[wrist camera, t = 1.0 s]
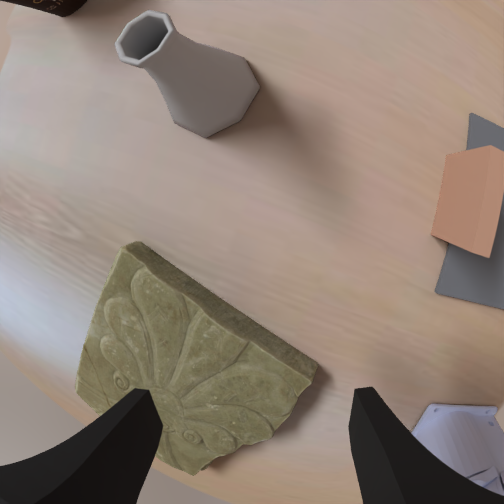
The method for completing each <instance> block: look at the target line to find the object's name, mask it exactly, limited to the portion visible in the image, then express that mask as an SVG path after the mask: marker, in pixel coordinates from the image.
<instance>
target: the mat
mask: <svg viewBox="0 0 504 504" xmlns="http://www.w3.org/2000/svg"><path fill="white" fill-rule="evenodd" d="M488 145H492V146H494V147H496V148H498V149H500V150H502V151H504V128H502V127H500V126H498V125H496V124H494V123H492V122H490V121H488V120H486V119H484V118H482V117H480V116H478V115H476V114H473V113H470V116H469V130H468V140H467V150H471V149H475V148H479V147H484V146H488ZM435 292H436V293H438V294H442V295H446V296H450V297H455V298H459V299H463V300H467V301H471V302H475V303H480V304H484V305H488V306H492V307H496V308H500V309H504V193H503V199H502V205H501V210H500V215H499V220H498V225H497V229H496V234H495V238H494V242H493V246H492V250H491V254H490V257H489V258H487V257H484V256H481V255H478V254H475V253H472V252H469V251H467V250H465V249H463V248H460V247H458V246H456V245H454V244H451V243H449V244H448V248H447V252H446V256H445V259H444V263H443V266H442V269H441V273H440V276H439V279H438V282H437V285H436V288H435Z"/></svg>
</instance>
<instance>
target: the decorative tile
mask: <svg viewBox="0 0 504 504" xmlns="http://www.w3.org/2000/svg"><path fill="white" fill-rule="evenodd" d="M317 367H318V363H317V362H316V361H314V360H313V359H311V358H309V357H308V356H306V355H305V354H303V353H302V352H300V351H299V350H297V349H296V348H294V347H293V346H291V345H290V344H288V343H286V342H285V341H283V340H282V339H280V338H279V337H277V336H276V335H274V334H273V333H271V332H270V331H268V330H267V329H265V328H264V327H262V326H261V325H259V324H258V323H256V322H255V321H254V320H252V319H251V318H249V317H248V316H246V315H245V314H243V313H242V312H240V311H239V310H237V309H236V308H234V307H233V306H231V305H230V304H228V303H227V302H225V301H224V300H222V299H221V298H219V297H218V296H216V295H215V294H213V293H212V292H211V291H209V290H208V289H206V288H205V287H203V286H202V285H201V284H199V283H198V282H196V281H195V280H194V279H192V278H191V277H189V276H188V275H187V274H185V273H184V272H182V271H181V270H179V269H178V268H176V267H175V266H174V265H172V264H171V263H169V262H168V261H167V260H165V259H164V258H162V257H161V256H160V255H158V254H157V253H156V252H154V251H153V250H152V249H150V248H149V247H148V246H146V245H145V244H143V243H142V242H137V241H135V242H133V243H131V244H128V245H125V246H123V247H121V248H120V250H119V252H118V254H117V256H116V258H115V260H114V263H113V265H112V267H111V270H110V272H109V275H108V277H107V280H106V282H105V285H104V287H103V290H102V293H101V295H100V298H99V300H98V303H97V305H96V308H95V311H94V314H93V317H92V320H91V323H90V327H89V330H88V333H87V337H86V340H85V343H84V345H83V350H82V353H81V358H80V363H79V367H78V371H77V377H76V383H75V390H76V393H77V394H78V395H79V396H80V397H81V398H82V399H83V400H84V401H85V402H86V403H87V404H88V405H89V406H90V407H91V408H92V409H93V410H94V411H95V412H96V413H97V414H98V415H99V416H101V415H102V414H104V413H105V412H106V411H107V410H109V409H110V408H111V407H112V406H113V405H115V404H116V403H117V402H118V401H119V400H121V399H122V398H123V397H124V396H125V395H127V394H128V393H129V392H130V391H132V390H133V389H134V388H138V389H147V390H149V391H150V393H151V396H152V399H153V401H154V404H155V406H156V409H157V411H158V414H159V416H160V419H161V421H162V423H163V430H162V434H161V439H160V442H159V446H158V449H157V452H156V454H155V456H156V457H157V458H158V459H160V460H161V461H163V462H165V463H166V464H168V465H170V466H172V467H174V468H176V469H179V470H182V471H184V472H186V473H188V474H190V475H193V476H194V475H196V474H197V473H198V472H199V471H200V470H202V471H203V470H205V469H207V467H208V466H209V465H210V464H211V463H212V461H213V460H214V459H215V458H217V457H218V456H224V455H227V454H232V453H234V452H235V451H236V450H237V449H238V448H239V447H240V446H241V445H242V444H244V445H247V444H248V445H253V444H255V443H257V442H261V441H265V440H269V439H271V438H272V437H273V435H274V432H275V431H276V429H277V428H278V427H279V426H280V425H281V423H283V422H284V421H285V420H286V419H287V418H288V417H289V416H290V415H291V413H292V411H293V408H294V407H295V405H296V402H297V399H298V397H299V396H300V395H301V393H302V392H303V391H304V390H305V389H306V388H307V387H308V386H309V385H311V383H312V382H313V378H314V375H315V373H316V370H317Z"/></svg>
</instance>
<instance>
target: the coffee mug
mask: <svg viewBox="0 0 504 504" xmlns="http://www.w3.org/2000/svg"><path fill="white" fill-rule="evenodd" d="M0 1H5V2H10V3H14V4H18V5H22V6H26V7H30V8H34V9H37V10H41V11H45V12H48V13H51V14H55V15H58V16H61V17H64V16H68V15H70V14H72V13H74V12H75V11H76V10H78V9H79V8H80V7H81V6H82V5H83V4H84V3H85V2H86V1H87V0H0Z"/></svg>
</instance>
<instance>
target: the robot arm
mask: <svg viewBox="0 0 504 504" xmlns="http://www.w3.org/2000/svg"><path fill="white" fill-rule="evenodd" d="M436 408H437V409H436ZM435 409H436V410H435ZM497 410H498V409H497V407H496V406H466V405H447V404H430V405H429V406H428V407H427V409H426V410H425V412H424V414H423V415H422V417H421V419H420V420H419V422H418V423H417V425H416V426H415V428H414V430H413V431H412V433H411V432H410V431H409V430H408V429H407V428H406V427H405V426H404V425H403V424H402V423H401V421H400V420H399V419H398V418H397V417H396V416H395V414H394V413H393V412H392V411H391V410H390V408H389V407H388V406H387V405H386V403H385V402H384V401H383V399H382V398H381V397H380V396H379V394H378V393H377V392H376V390H375V389H374V388H373V387H366V388H358V389H355V390H354V397H353V403H352V409H351V415H350V421H349V435H350V444H351V452H352V456H353V460H354V465H355V469H356V473H357V477H358V482H359V486H360V490H361V495H362V499H363V504H504V433H503V431H502V429H501V428H500V426H499V424H498V422H497V421H496V419H495V417H494V415H495V414H496V412H497ZM162 430H163V423H162V421H161V419H160V416H159V414H158V411H157V409H156V406H155V404H154V401H153V399H152V396H151V393H150V391H149V390H147V389H138V388H134V389H133V390H132V391H130V392H129V393H128V394H127V395H125V396H124V397H123V398H122V399H121V400H119V401H118V402H117V403H116V404H115V405H113V406H112V407H111V408H110V409H109V410H107V411H106V412H105V413H104V414H102V415H101V416H100V417H99V418H97V419H96V420H95V421H94V422H92V423H91V424H89V425H88V426H87V427H85V428H84V429H82V430H81V431H80V432H78V433H77V434H75V435H74V436H72V437H71V438H69V439H67V440H66V441H64V442H62V443H61V444H59V445H57V446H55V447H54V448H51V449H49V450H47V451H45V452H42V453H40V454H38V455H36V456H33V457H31V458H28V459H25V460H22V461H19V462H16V463H12V464H8V465H4V466H0V504H136V503H137V499H138V496H139V493H140V491H141V488H142V486H143V484H144V481H145V479H146V476H147V474H148V471H149V469H150V467H151V464H152V462H153V459H154V457H155V454H156V452H157V449H158V446H159V442H160V439H161V434H162Z"/></svg>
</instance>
